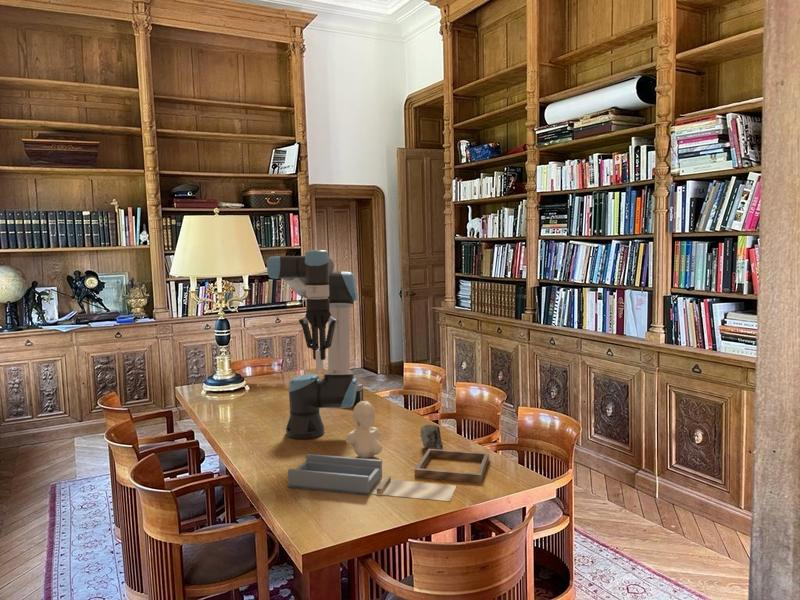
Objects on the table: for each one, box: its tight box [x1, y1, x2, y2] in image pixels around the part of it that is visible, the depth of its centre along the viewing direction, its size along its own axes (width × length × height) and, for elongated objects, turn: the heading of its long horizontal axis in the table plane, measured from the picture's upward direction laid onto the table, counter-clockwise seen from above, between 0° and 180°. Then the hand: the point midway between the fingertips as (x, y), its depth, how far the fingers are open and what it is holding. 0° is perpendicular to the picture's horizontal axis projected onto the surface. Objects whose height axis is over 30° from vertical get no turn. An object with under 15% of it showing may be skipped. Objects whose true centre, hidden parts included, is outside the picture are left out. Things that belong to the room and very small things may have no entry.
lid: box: [369, 475, 457, 503], centre depth 190 cm, size 25×12×2 cm, turn 75°
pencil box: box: [287, 453, 383, 496], centre depth 196 cm, size 26×15×6 cm, turn 75°
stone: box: [420, 424, 444, 450], centre depth 227 cm, size 10×10×10 cm
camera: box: [353, 382, 364, 406], centre depth 293 cm, size 14×8×10 cm, turn 58°
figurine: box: [345, 400, 383, 459], centre depth 218 cm, size 14×9×20 cm
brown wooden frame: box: [414, 448, 490, 484], centre depth 207 cm, size 21×20×2 cm
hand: (319, 369), depth 203 cm, fingers closed
